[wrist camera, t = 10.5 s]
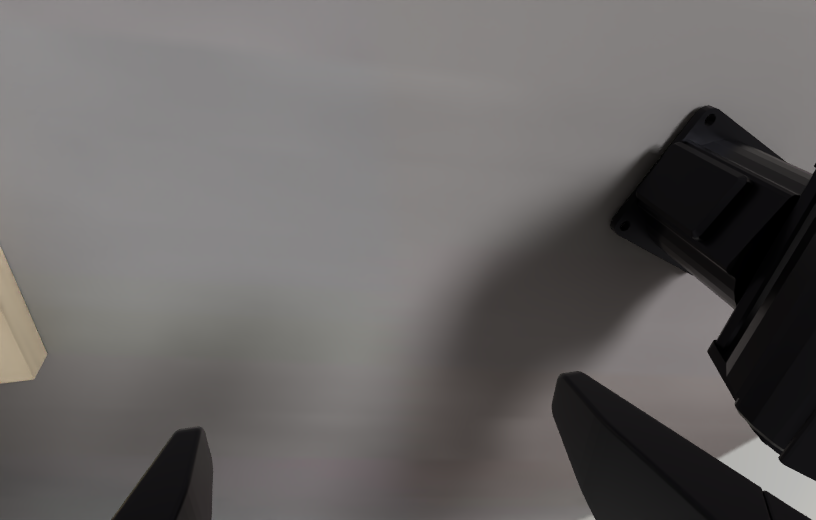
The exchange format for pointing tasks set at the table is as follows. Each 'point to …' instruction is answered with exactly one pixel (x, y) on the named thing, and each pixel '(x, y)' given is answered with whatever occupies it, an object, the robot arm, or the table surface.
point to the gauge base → (17, 332)
